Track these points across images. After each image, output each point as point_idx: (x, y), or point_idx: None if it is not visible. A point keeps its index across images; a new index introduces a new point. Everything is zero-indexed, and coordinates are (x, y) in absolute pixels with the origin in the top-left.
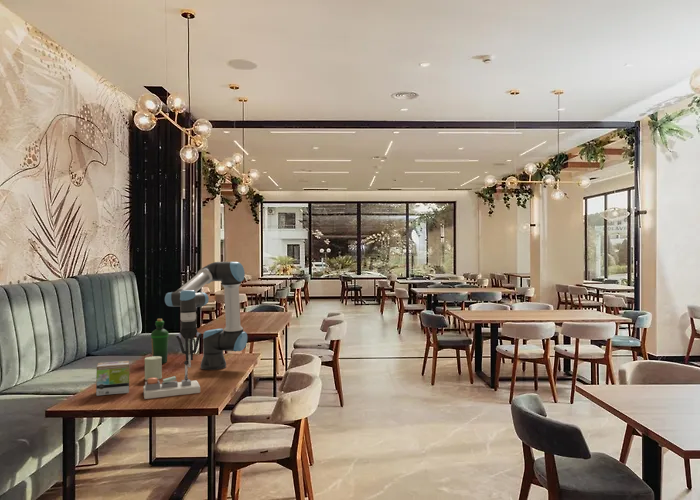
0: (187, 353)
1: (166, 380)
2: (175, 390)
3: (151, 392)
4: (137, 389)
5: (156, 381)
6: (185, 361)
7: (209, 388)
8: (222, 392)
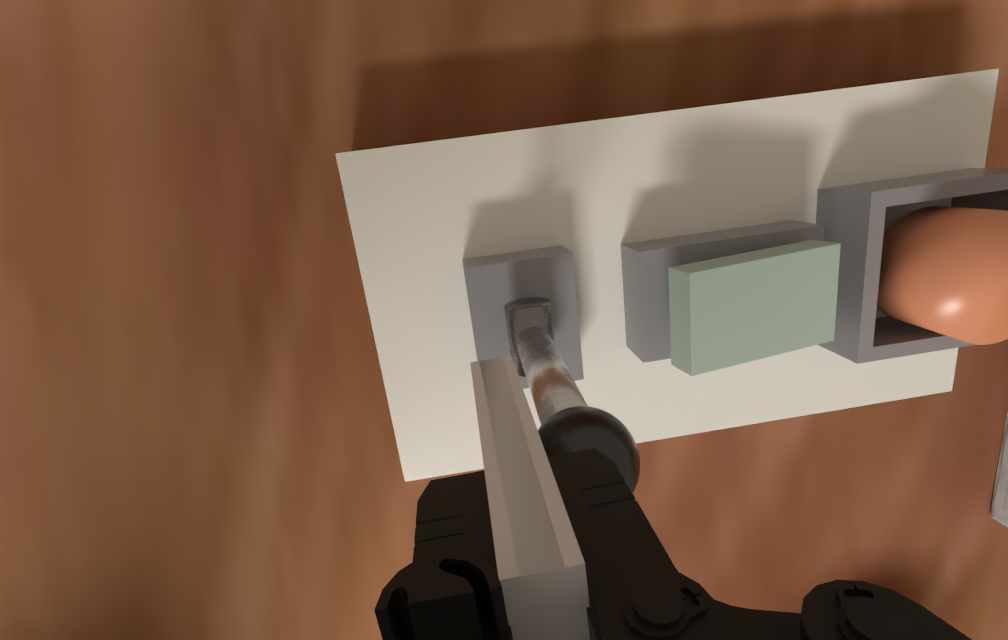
0: (650, 596)
1: (800, 250)
2: (644, 114)
3: (917, 80)
4: (930, 464)
5: (924, 240)
6: (616, 449)
7: (260, 311)
8: (60, 64)
